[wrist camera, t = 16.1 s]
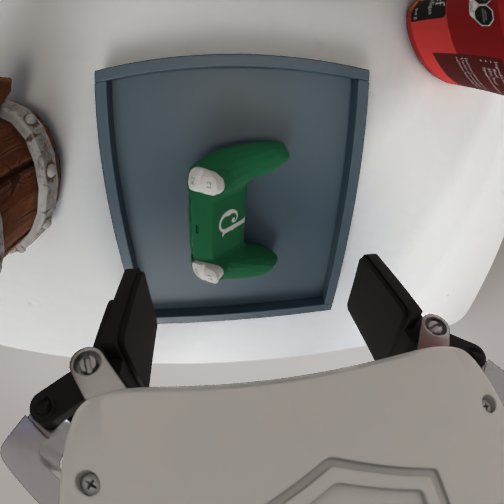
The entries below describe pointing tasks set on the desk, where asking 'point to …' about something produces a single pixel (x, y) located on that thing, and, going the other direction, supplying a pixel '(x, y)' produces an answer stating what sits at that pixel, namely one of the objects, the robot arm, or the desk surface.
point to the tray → (258, 189)
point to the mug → (24, 175)
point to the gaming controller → (228, 210)
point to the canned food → (460, 41)
